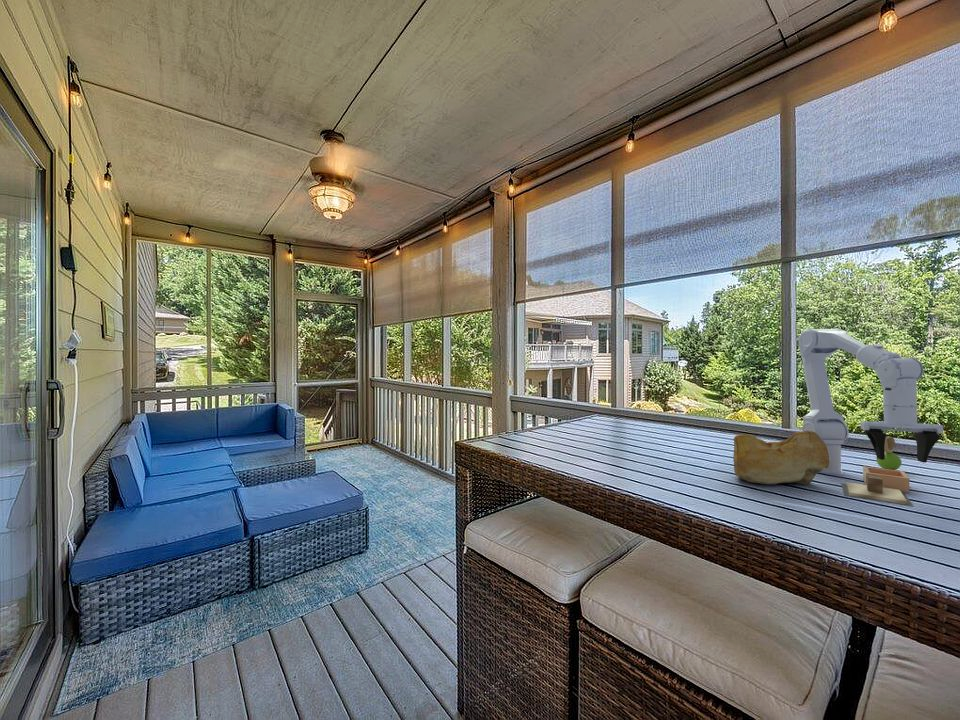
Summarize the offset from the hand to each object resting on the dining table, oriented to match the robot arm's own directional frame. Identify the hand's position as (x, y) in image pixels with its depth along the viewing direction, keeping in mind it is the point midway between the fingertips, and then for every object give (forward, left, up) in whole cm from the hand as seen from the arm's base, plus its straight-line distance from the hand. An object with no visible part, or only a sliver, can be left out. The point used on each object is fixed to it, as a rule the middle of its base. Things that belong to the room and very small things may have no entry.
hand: (900, 460), depth 98 cm
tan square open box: (-2, +9, -10) cm, 14 cm away
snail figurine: (+1, +31, -10) cm, 33 cm away
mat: (-5, -2, -10) cm, 11 cm away
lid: (-5, -2, -9) cm, 10 cm away
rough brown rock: (-26, -1, -10) cm, 28 cm away
